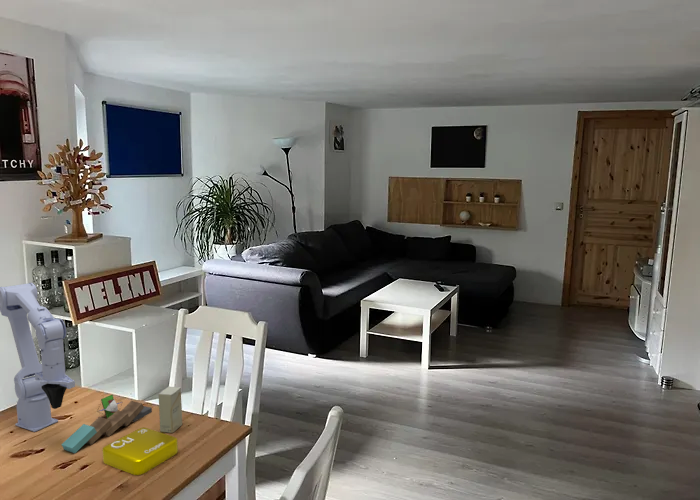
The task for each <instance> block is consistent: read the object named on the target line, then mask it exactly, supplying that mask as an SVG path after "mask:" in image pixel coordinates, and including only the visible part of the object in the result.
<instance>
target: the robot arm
mask: <svg viewBox="0 0 700 500" xmlns="http://www.w3.org/2000/svg"><path fill="white" fill-rule="evenodd" d="M0 313H1V314H0V315H1V316H4V317H6V318H7V319H8V322H9V324H10V329H11V330H12V336H13V339H14V343H15V347H16V350H17V354H18V358H19V361H20V366H21V369H20V370H19V371H18V372H17V373H16V374H15V376H14V378H13V382H14V391H15V395H16V397H17V402H16V414H17V422H16V423H15V424H14V425H15V426H17V427H18V428H22V429H26V430H29V431H31V432H34V433H35V432H38V431H40V430H43V429H45V428H46V427H49V426H51V425H53V424H56V423H57V422H59V419H57V418H53V417H52V412H51V411H52V409H54V410H57V409H58V408H62V405H63V401H64V400H63V399H64V396H65V394H66V390H70V389H73V388H75V387H76V381H75V380H74V379H72V378H71V377H70V376H69V375H67V374H66V365H65V364H66V363H65V361H66V360H65V351H64V350H65V348H64V339H65V338H66V336H67V328H66V324H65V322H64V320H63V319H62V318H58V317H56V318H55V316H54V315H53V314H52V313H51V312H50V310H49V309H48V308H47V307H45V306H43V305H40V303H39V301H38V289H37V286H36V284H34V283H33V282H28V283H21V284H16V285H8V286H0ZM29 323H30V324H29ZM30 325H31V326H32V327H33V329H34V330H35V335H36V339H37V344H38V348H39V349H40V356H41V363H40V361H39V357H38V353H37V348H36V346H35V342H34V339H33V334H32V332H31V327H30Z"/></svg>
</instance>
